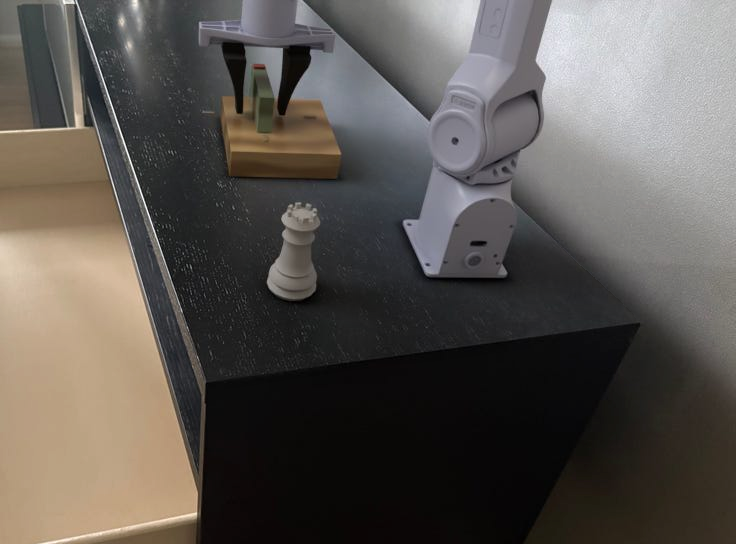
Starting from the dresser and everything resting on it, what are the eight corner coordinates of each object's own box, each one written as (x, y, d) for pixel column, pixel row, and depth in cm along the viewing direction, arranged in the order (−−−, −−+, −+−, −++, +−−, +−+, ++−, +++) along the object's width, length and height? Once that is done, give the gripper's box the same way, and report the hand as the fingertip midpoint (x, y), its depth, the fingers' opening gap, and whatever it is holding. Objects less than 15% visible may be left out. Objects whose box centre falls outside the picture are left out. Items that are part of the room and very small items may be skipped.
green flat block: (271, 132, 84) (275, 95, 81) (256, 132, 84) (260, 95, 81) (262, 98, 90) (265, 63, 88) (249, 98, 90) (251, 62, 87)
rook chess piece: (325, 289, 68) (340, 212, 63) (293, 309, 65) (305, 231, 60) (288, 267, 70) (299, 190, 65) (256, 286, 67) (264, 208, 62)
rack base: (337, 179, 83) (342, 153, 81) (205, 176, 82) (206, 148, 79) (315, 117, 95) (318, 93, 93) (198, 113, 93) (199, 88, 91)
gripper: (333, -24, 81) (316, 98, 91) (199, -32, 80) (195, 94, 89) (346, -3, 76) (326, 125, 85) (202, -11, 74) (197, 120, 83)
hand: (260, 111), depth 87 cm, fingers open, 4 cm apart
